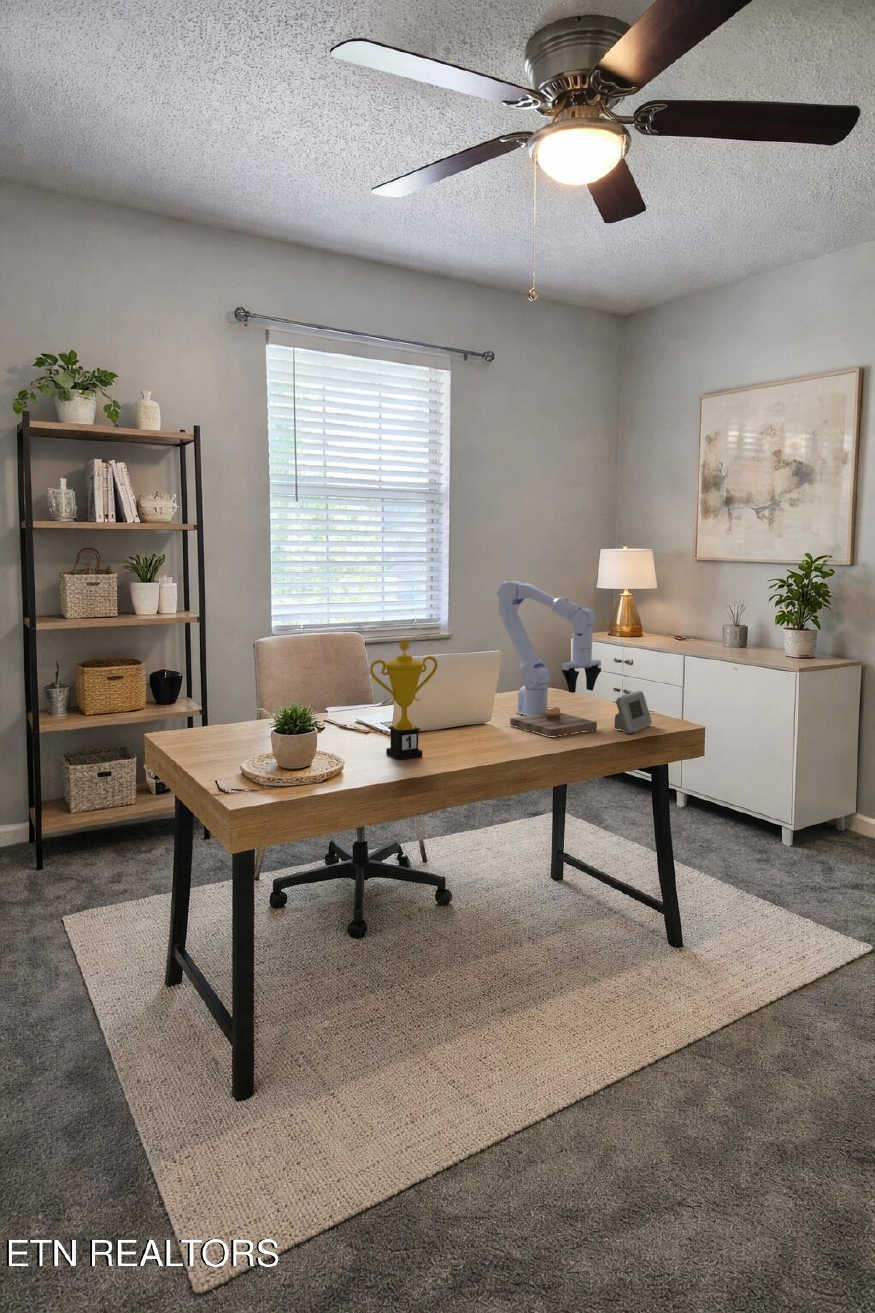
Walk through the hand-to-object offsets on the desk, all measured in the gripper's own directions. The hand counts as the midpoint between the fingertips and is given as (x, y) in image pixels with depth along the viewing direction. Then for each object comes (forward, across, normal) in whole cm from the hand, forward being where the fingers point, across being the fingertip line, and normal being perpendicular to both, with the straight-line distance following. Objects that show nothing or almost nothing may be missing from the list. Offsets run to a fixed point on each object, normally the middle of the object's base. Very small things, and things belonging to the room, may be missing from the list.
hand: (581, 691), depth 249 cm
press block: (+9, -14, -3) cm, 17 cm away
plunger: (+9, -14, -3) cm, 17 cm away
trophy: (+10, -68, -6) cm, 69 cm away
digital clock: (+10, +6, -17) cm, 20 cm away
